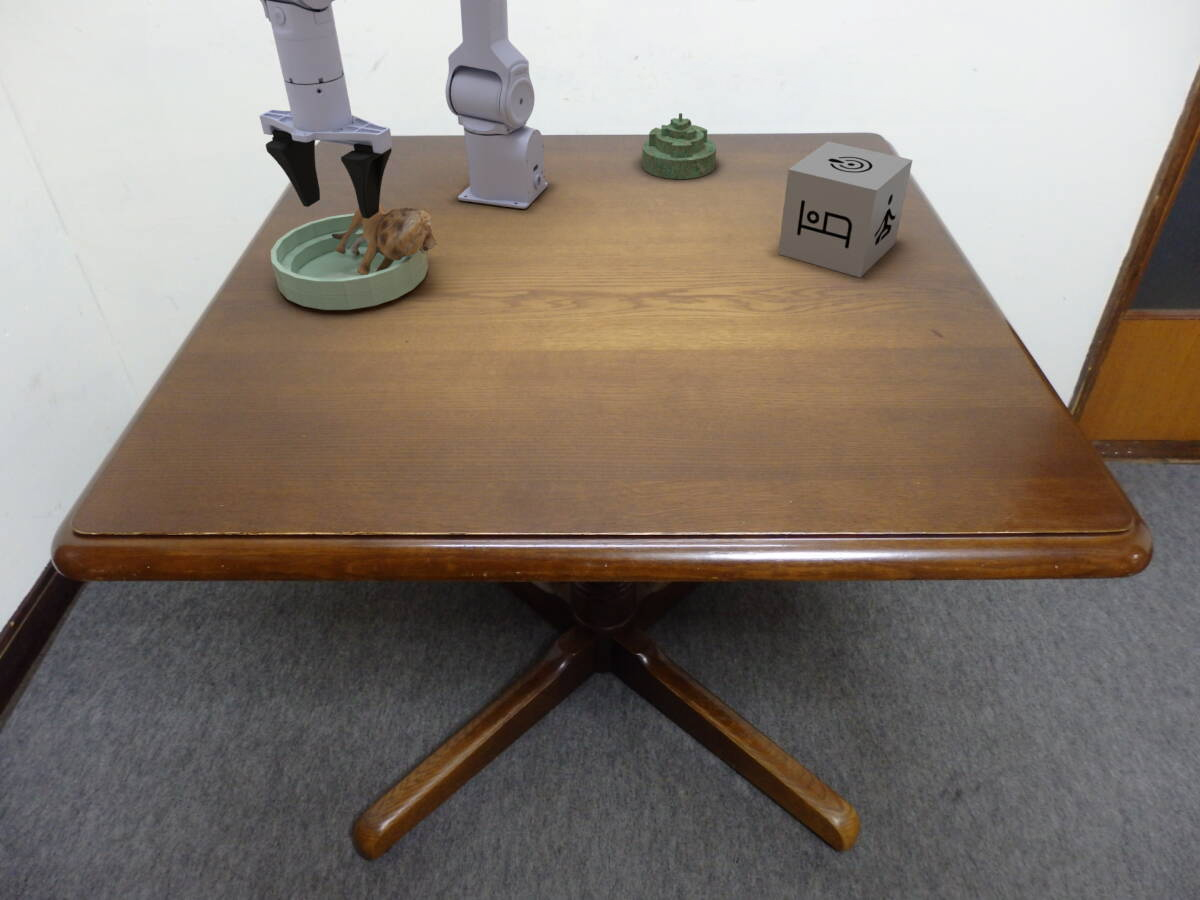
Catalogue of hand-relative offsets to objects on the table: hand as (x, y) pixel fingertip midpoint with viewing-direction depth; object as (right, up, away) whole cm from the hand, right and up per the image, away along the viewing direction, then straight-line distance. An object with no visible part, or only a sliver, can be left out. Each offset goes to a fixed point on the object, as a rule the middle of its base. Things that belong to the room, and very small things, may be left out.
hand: (340, 208), depth 96 cm
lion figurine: (+2, -6, +3) cm, 7 cm away
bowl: (0, -6, +5) cm, 8 cm away
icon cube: (+55, -2, +9) cm, 56 cm away
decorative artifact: (+38, +14, +29) cm, 50 cm away
